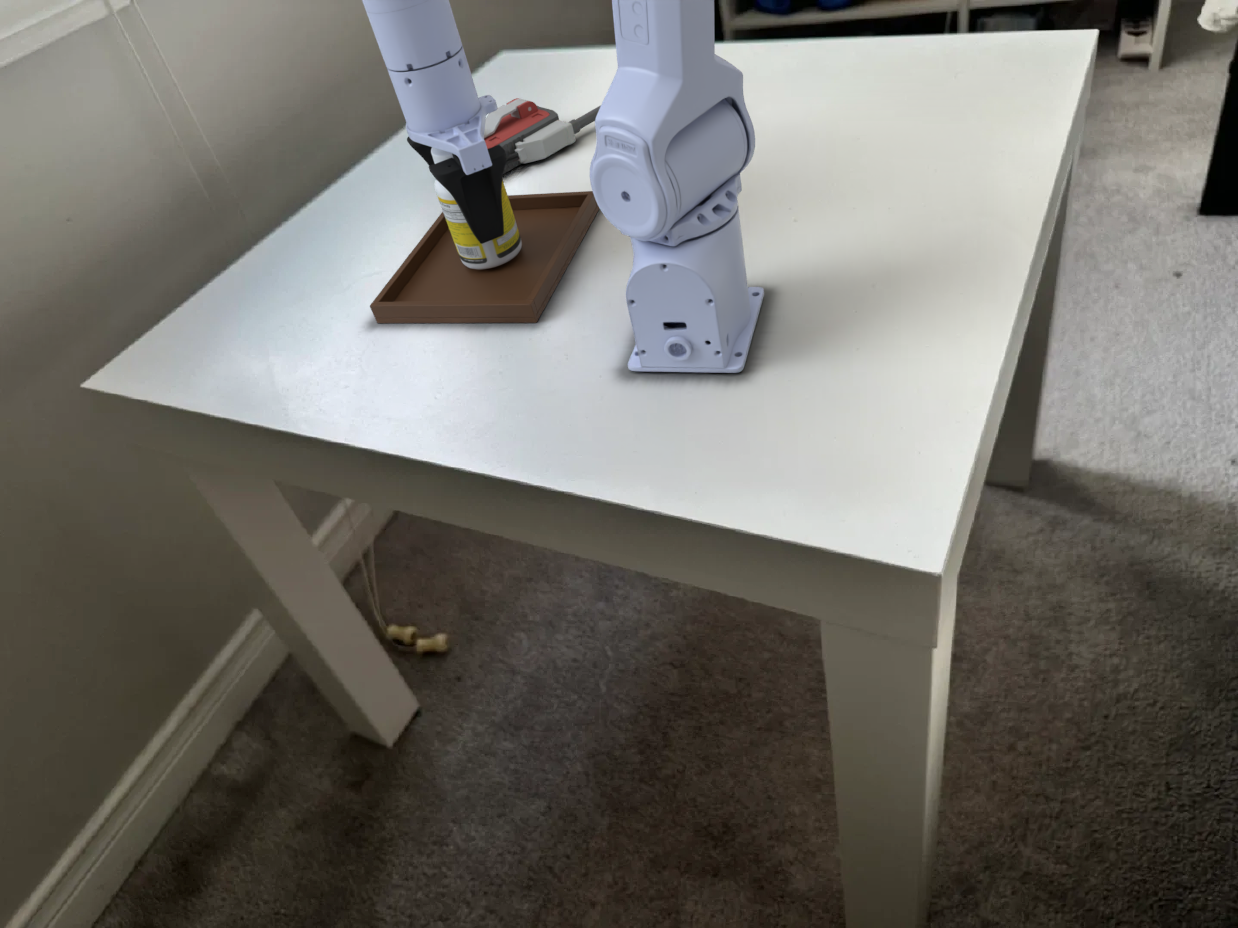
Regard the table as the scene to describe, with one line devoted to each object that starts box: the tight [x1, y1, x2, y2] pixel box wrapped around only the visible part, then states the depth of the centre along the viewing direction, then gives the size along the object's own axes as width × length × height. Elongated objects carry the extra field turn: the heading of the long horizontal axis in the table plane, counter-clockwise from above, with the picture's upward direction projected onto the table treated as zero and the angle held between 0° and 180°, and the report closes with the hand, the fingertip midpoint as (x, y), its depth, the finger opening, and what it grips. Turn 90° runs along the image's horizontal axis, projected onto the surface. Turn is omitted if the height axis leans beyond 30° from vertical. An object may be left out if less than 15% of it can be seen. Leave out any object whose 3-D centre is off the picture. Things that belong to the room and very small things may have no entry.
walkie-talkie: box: [484, 97, 601, 175], centre depth 91 cm, size 9×4×20 cm
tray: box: [369, 190, 600, 324], centre depth 76 cm, size 17×14×2 cm
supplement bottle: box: [431, 147, 522, 270], centre depth 73 cm, size 5×5×10 cm
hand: (480, 224), depth 74 cm, fingers closed on supplement bottle, 5 cm apart
